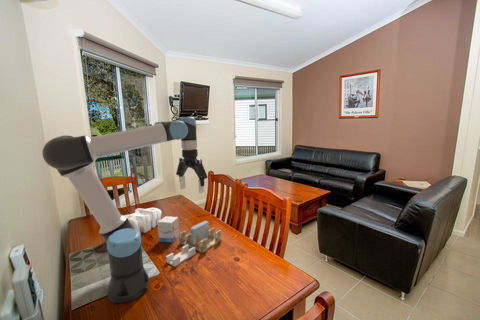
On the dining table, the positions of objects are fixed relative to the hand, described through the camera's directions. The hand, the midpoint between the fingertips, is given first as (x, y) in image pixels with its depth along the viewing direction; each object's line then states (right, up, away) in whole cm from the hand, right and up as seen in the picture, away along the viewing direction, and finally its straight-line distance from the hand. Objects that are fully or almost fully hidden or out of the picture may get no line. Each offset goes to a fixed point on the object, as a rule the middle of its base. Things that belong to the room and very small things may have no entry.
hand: (192, 190), depth 116 cm
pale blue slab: (+3, -29, +9) cm, 30 cm away
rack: (+3, -30, +9) cm, 31 cm away
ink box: (-16, -30, +14) cm, 36 cm away
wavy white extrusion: (-39, -28, +26) cm, 55 cm away
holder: (-4, -32, -5) cm, 33 cm away
